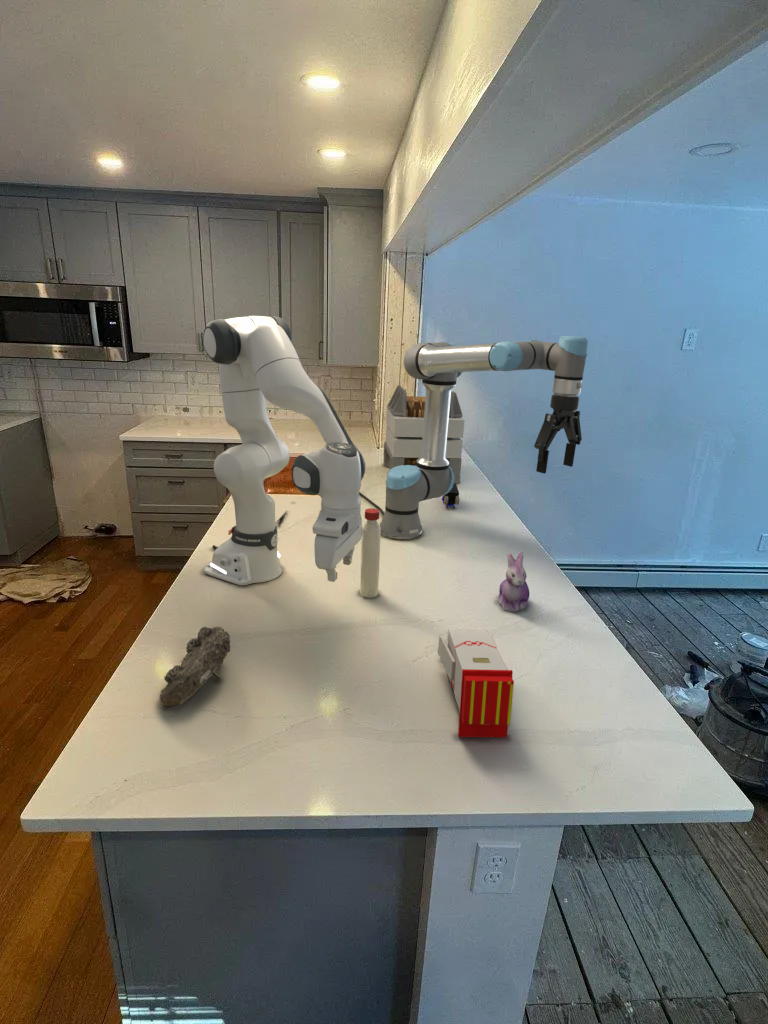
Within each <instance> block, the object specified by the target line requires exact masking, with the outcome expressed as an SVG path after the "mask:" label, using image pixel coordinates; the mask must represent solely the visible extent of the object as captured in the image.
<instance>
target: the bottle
mask: <svg viewBox="0 0 768 1024" xmlns="http://www.w3.org/2000/svg"><path fill="white" fill-rule="evenodd" d="M381 536H382V535H381V528H380V523H378V520H373V521H372V520H367V519H366V521H365V523H364V524H362V537H361V552H360V555H361V556H360V581H359V582H360V583H359V584H360V585H359V594H360V596H361V597H363V598H368V599H369V598H370V599H371V598H376V597H378V595H379V584H380V583H379V582H380V562H381V561H380V559H381Z"/></svg>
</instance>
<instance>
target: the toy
mask: <svg viewBox="0 0 768 1024" xmlns="http://www.w3.org/2000/svg"><path fill="white" fill-rule="evenodd" d="M446 640H447V643H446V641H445V639H444V636H443V635H442V634H439V637H438V646H437V656H438V657H439V659H440V661H441V663H442V666H443V668H444V670H445V672H446V674H447V677H448V679H449V681H450V684H451V687H452V690H453V693H454V697H455V701H456V705H457V708H458V711H459V714H458V715H459V716H458V730H457V731H458V732H457V737H458V738H508V731H509V726H510V725H511V717H512V707H513V697H514V696H513V695H514V684H515V680H514V679H513V673H514V671H513V670H512V669H508V667H507V665H506V662H505V661H504V659H503V658H502V655H501V653H500V651H499V649H498V647H497V643H496V639H495V637H494V635H493V634H491V632H490V631H489V629H467V628H466V629H465V628H463V629H461V628H460V629H459V628H448V630H447V639H446Z"/></svg>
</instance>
